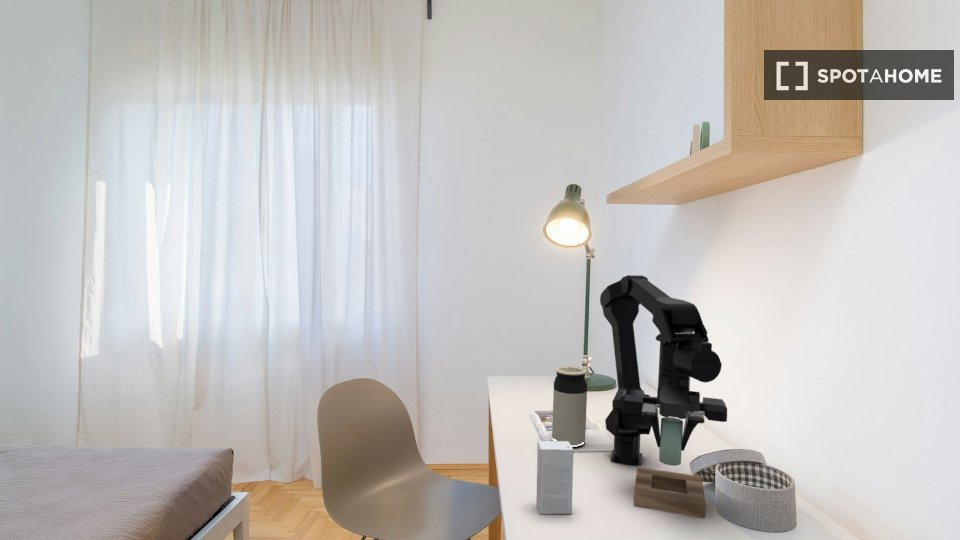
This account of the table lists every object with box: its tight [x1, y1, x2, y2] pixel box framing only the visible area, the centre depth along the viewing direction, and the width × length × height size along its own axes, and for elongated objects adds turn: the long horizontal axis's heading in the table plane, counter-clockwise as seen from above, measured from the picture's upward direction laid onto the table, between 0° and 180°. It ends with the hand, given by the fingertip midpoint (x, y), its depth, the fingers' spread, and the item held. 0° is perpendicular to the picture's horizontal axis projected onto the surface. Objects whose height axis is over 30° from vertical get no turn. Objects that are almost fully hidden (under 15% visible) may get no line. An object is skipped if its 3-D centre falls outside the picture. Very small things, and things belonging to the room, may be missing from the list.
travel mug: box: [551, 365, 588, 445], centre depth 133 cm, size 8×8×18 cm
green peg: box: [658, 417, 684, 466], centre depth 106 cm, size 4×4×8 cm
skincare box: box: [535, 440, 574, 515], centre depth 100 cm, size 6×4×12 cm
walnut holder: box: [633, 466, 707, 519], centre depth 106 cm, size 12×12×2 cm
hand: (670, 448), depth 106 cm, fingers closed on green peg, 4 cm apart
